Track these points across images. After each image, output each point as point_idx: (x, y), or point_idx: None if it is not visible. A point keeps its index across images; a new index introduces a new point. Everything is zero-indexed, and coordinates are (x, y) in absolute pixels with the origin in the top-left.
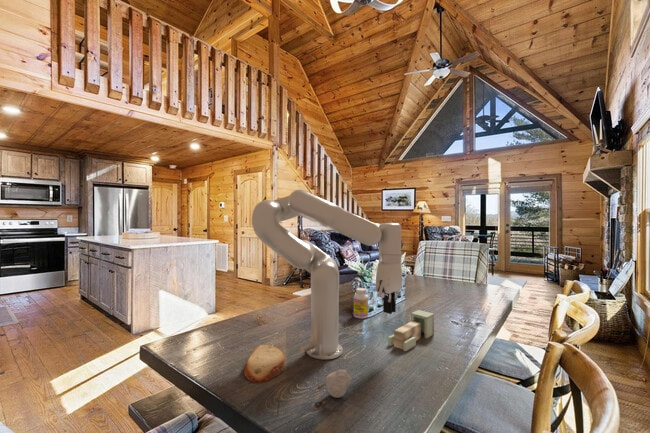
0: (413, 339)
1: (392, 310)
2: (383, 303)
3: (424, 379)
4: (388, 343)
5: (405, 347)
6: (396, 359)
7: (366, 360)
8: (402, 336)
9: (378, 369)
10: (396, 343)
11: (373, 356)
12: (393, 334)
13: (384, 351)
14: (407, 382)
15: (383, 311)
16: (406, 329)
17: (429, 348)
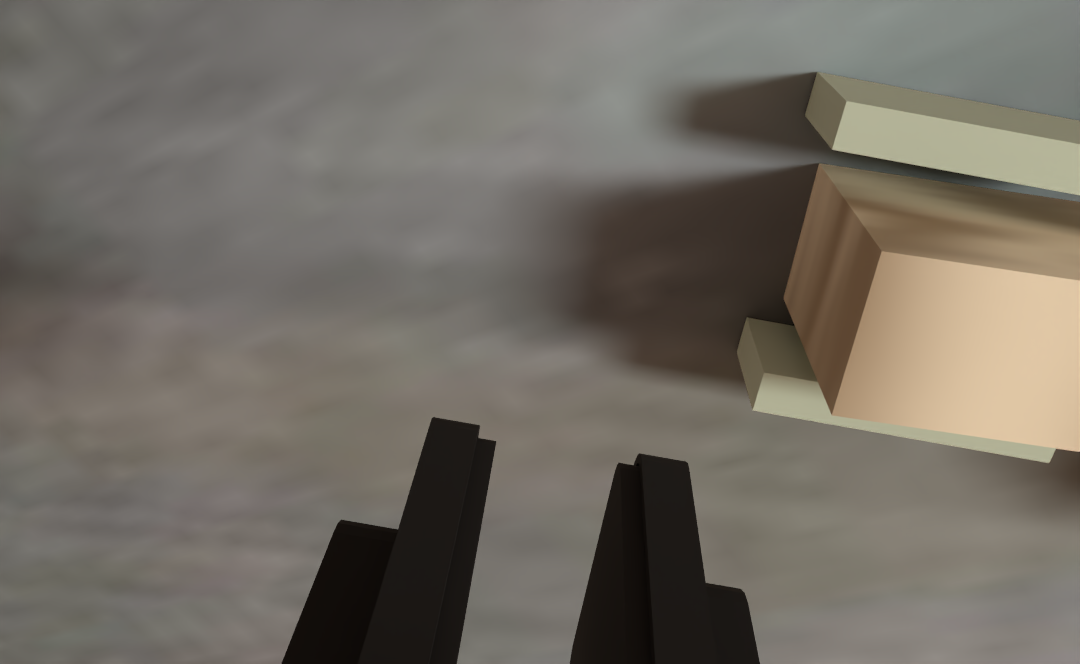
0: (972, 442)
1: (578, 647)
2: (379, 591)
3: (238, 656)
4: (819, 84)
5: (746, 370)
6: (445, 331)
7: (151, 22)
8: (818, 379)
9: (71, 253)
10: (820, 221)
11: (322, 50)
12: (1007, 136)
13: (569, 115)
14: (77, 562)
15: (431, 420)
16: (1040, 413)
17: (986, 550)
